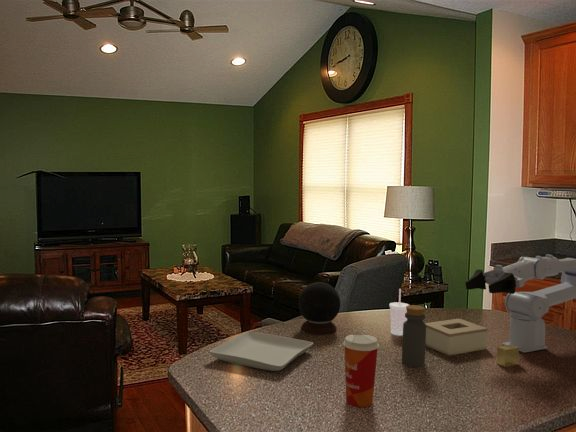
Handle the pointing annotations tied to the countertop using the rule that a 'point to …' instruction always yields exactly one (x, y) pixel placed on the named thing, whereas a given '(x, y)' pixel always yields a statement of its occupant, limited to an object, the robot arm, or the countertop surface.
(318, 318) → the black ball on stand
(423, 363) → the bottle
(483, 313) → the countertop surface
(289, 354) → the salad plate
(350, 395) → the paper cup
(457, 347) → the cream box with slot
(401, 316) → the beverage cup
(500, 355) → the block
